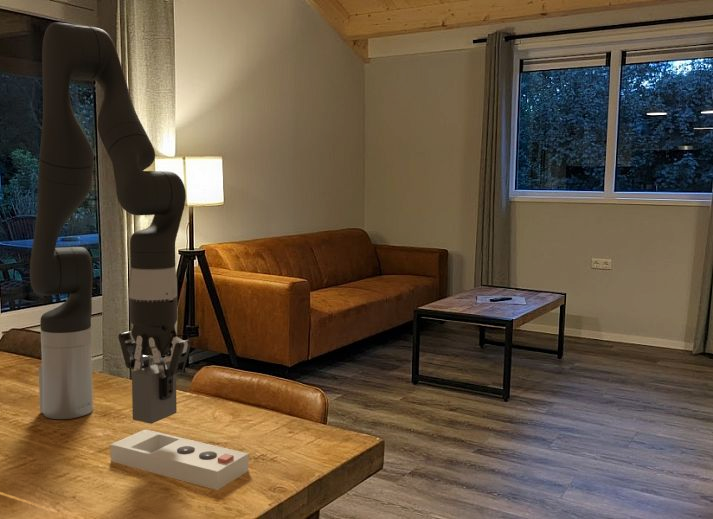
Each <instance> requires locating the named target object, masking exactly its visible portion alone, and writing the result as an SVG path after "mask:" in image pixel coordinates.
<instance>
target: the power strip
mask: <svg viewBox="0 0 713 519" xmlns="http://www.w3.org/2000/svg"><path fill="white" fill-rule="evenodd" d="M110 462H112V463H116V464H119V465H123V466H127V467H129V468H130V467H131V468H134V469H138V470H141V471H146V472H149V473H152V474H156V475H160V476H164V477H167V478H171V479H176V480H179V481H183V482H187V483H189V484H193V485H197V486H201V487H205V488H208V489H211V490H216V491H219V490H220V489H222V488H224V487H225V486H227V485H229V484H230V483H232V482H233V481H234V480H237V479H238V478H239V477H241V476H242V475H244V474H245V473H247V472H249V453H248V452H243V451H239V450H237V449H236V450H235V449H231V448H226V447H223V446H219V445H213V444H209V443H206V442H201V441H197V440H192V439H188V438H184V437H180V436H175V435H171V434H167V433H164V432H163V433H162V432H158V431H153V430H149V429H143V430H141V431H138V432H135V433H133V434H131V435H129V436H127V437H124V438H123V439H120V440H117V441H115V442H113V443H111V444H110Z"/></svg>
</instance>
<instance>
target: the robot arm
mask: <svg viewBox="0 0 713 519" xmlns="http://www.w3.org/2000/svg"><path fill="white" fill-rule="evenodd" d="M42 40H43V41H42V46H41V47H42V51H41V60H42V61H41V66H42V68H41V69H42V72H41V73H42V74H41V76H42V124H41V136H40V148H39V158H38V172H37V173H38V175H37V176H38V177H37V204H36V219H35V226H34V234H33V239H32V240H33V242H32V247H31V254H30V261H29V262H30V264H29V280H30V285H31V289H32V290H33V292H34V293H35V294H36V295H39V296H44V297H45V296H46V297H47V296H48V297H49V296H59V295H60V296H61V295H69V296H68V298H67V299H66V301H64V302H62V304H60V305H59V306H57V307H55V308H53V309H51V310H49V311H46V312H45V313H43V314H42V315H41V316H40V326H39V327H40V345H41V346H40V348H41V351H40V352H41V364H40V365H39V366H38V385H39V386H38V388H39V389H38V391H39V392H38V393H39V412H40V413H42V414H43V416H44V417H45V418H48V419H53V420H70V419H76V418H80V417H84V416H86V415H89V414H90V413H92V412H93V411H94V410H93V409H94V399H93V398H94V396H93V394H94V393H93V391H94V390H93V389H94V388H93V360H92V357H93V356H92V355H93V354H92V353H93V352H92V351H93V350H92V314H93V307H92V306H93V304H92V303H93V302H92V301H93V278H94V277H93V270H94V269H93V260H92V257H91V254H90V251H88V249H87V248H86V247H84V246H67V247H62V246H61V247H57V242H58V240H59V236H60V233H61V231H62V230H63V228H64V226H65V225H66V223H67V222H68V221H69V219H70V218H71V217H72V215H73V214H74V213H75V212H76V211H77V210H78V208H79V207H80V206H81V205H82V203H83V202H84V201H85V199H86V198H87V196H88V194H89V193H90V190H91V188H92V182H93V173H94V164H95V163H94V162H95V161H94V159H95V155H94V154H95V153H94V150H93V146H92V144H91V142H90V140H89V138H88V136H87V135H86V133H85V131H84V130H83V128H82V126H81V124H80V122H79V121H78V119H77V117H76V115H75V112H74V109H73V107H72V102H71V101H72V100H71V92H70V91H71V90H70V88H71V87H70V86H71V85H70V84H71V80H75V81H77V80H78V81H90V82H91V81H92V82H93V81H95V82H96V83H97V84H98V85H99V86H100V88H101V90H102V92H103V99H102V103H101V105H100V109H99V111H98V112H99V113H98V116H97V130H98V135H99V138H100V139H101V143H102V144H103V147H104V149H105V151H106V152H107V155H108V157H109V158H110V161H111V163H112V169H113V175H114V180H115V181H114V182H115V189H116V190H115V191H116V192H115V193H116V197H117V201H118V203H119V204H120V207H121V208H123V209H124V211H125V212H127V213H129V214H130V215H132V216H153V218H152V221H151V223H150V225H149V226H148V227H146V228H143V229H140V230H138V231H135V232H134V233H132V234H131V236H130V240H129V242H130V243H129V246H130V247H129V250H130V251H129V255H130V271H129V272H130V273H129V279H128V290H129V293H128V295H129V299H128V301H129V304H128V305H129V323H130V324H131V325H132V329H131V330H130V331H125V332H121V333H119V334H118V336H117V337H118V340H119V341H118V342H119V343H120V349H121V353H122V356H123V360H124V364H125V367H126V368H127V369H132V370H133V371H136V370H140V369H143V368H146V367H149V366H151V365H152V364H151V363H152V359H153V362H154V365H155V364H156V365H157V366H158V370H159V375H160V377H161V378H159V398H160V400H166V399H169V398H170V397H171V395H172V394H173V376H174V375H176V376H177V375H178V374H182V373H183V372H184V370H185V367H186V363H187V360H188V357H189V352H190V349H191V345H192V342H191V341H190V339H185V340H183V339H182V338H180V337H178V333H177V331H176V327H175V326H176V324H177V322H178V278H177V277H178V276H177V270H176V241H177V237H178V233H179V229H180V224H181V220H182V217H183V213H184V209H185V207H186V206H185V205H186V197H187V196H186V195H187V194H186V187H185V184H184V182H183V180H182V178H181V177H180V176H179V175H178V174H177V173H175V172H172V171H167V170H164V171H163V170H162V171H161V170H158V171H156V170H147V169H148V168H149V167H151V166H152V164H154V162H155V158H156V152H155V147H154V146H153V144H152V141H151V140H150V138H149V136H148V134H147V132H146V130H145V128H144V126H143V125H142V122H141V120H140V119H139V118H140V117H139V116H138V113H137V111H136V109H135V106H134V104H133V102H132V101H133V100H132V97H131V93H130V90H129V87H128V86H129V85H128V83H127V80H126V78H125V74H124V70H123V67H122V63H121V61H120V60H121V59H120V57H119V54H118V51H117V49H116V46H115V44H114V41H113V39H112V38H111V36H110V35H109V33H108V32H106V31H105V30H104V29H101V28H99V27H95V26H87V25H80V24H73V23H65V22H52V23H50V24H49V25H48V26H47V27H46V30H45V31H44V36H43V39H42ZM163 356H165V357H163ZM165 365H166V366H167V369H166V367H165Z"/></svg>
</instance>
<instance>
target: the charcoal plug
mask: <svg viewBox="0 0 713 519" xmlns="http://www.w3.org/2000/svg"><path fill="white" fill-rule="evenodd" d="M165 367H166V369H167V366H166V364H165ZM159 378H161V377H160V375H159V370H158V366H157V365H156V364H155V363H154V364H151V365H150V366H149V367H146V368H143V369H140V370H136V371H134V370H133V371H131V396H132V397H131V399H132V420H134V421H137V422H141V423H146V424H149V425H151V424H154V423H156V422H160V421H161V420H164V419H166V418H168V417H171V416H173V415H175V414H177V412H178V411H177V410H178V409H177V374H176V375H174V376H173V394H172V395H171V397H170V398H169V399H166V400H160V398H159Z"/></svg>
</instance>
